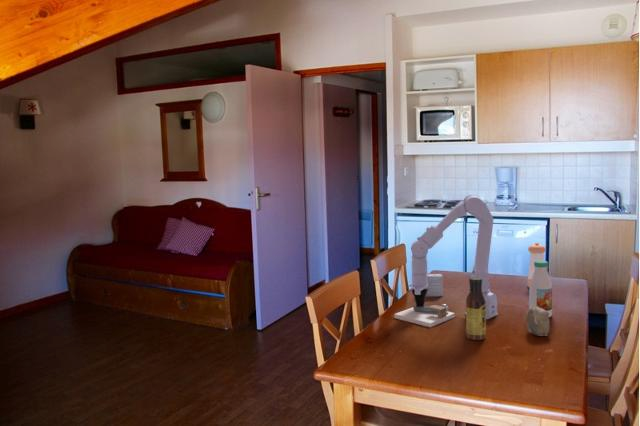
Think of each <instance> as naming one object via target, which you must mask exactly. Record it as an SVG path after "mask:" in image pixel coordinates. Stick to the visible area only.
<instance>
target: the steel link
mask: <svg viewBox="0 0 640 426" xmlns="http://www.w3.org/2000/svg"><path fill="white" fill-rule="evenodd" d="M429 306H430V305H424V306H422V305H416V304H414V305H413V307H414V311H424V312H438V311H435V310H431V309H428V307H429ZM440 306H442V307H446V314H448V312H449V306H448V305H447V304H445V303H442V304H440Z"/></svg>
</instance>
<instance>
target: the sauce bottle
mask: <svg viewBox="0 0 640 426" xmlns="http://www.w3.org/2000/svg"><path fill="white" fill-rule="evenodd" d="M468 279H469V282H468V283H469V289H470V293H468V294H467V296H466V301H465V303H466V305H465V313H466V315H465V331H466V338H468V339H469V340H472V341H481V340H484V339H486V334H487V319H486V301H485V299H484V296H483V293H482V278H479V277H471V278H469V277H468Z"/></svg>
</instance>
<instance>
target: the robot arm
mask: <svg viewBox="0 0 640 426" xmlns="http://www.w3.org/2000/svg"><path fill="white" fill-rule="evenodd" d="M468 214H469V215H471V216H473V217H474V218H476V220H477V221H478V222H479V223H478V230H477V238H476V239H477V240H476V248H475V256H474V265H473V267H472V271H471V273H470V275H469V277H468V279H469V278H471V277H479V278H482V293H483V296H484V299H485V301H486V320H489V319H491V318H493V317H496V316H498V315H499V313H498V298H497V294H495V293H493V292H491V289H490V286H491V281H490V279H489V275H490V274H489V261H490V255H491V254H490V253H491V245H492V244H491V243H492V236H493V227H494V226H493V225H494V217H493V214H492V213H491V212H490V209H489V208H488V206H487V203H486V202H485V201H483V200H482V199H481V198H479V197H478V196H477V195H474V194H468V195H466V196H465V197H464V199H463V200H460V201H459V202H458V203H457V204H455V206H453V208H452V209H451V210H450V211H449V212H448V213H447V214H446V215H445V216H444V217H443V219H442V220H440V222H438V224H437V225H431V226H430V227H429V226H427V227H426V229H425V230H426V231H424V233H423V234H422V235H421V236H418V237H417V238H416V239H417V240H415V241H414V242H412V243H411V246H410V250H411V283H409V284H408V286H409V287H411V288H412V290H411V292H412V293H411V294H412V295H413V297H414V300H415V305H422V306H425V299H426V297H425V296H426V294H427V291H428V289H426V288H427V287H428V275H427V274H428V260H427V255H428V252H429V250H430V249H432V248H433V247H435V245H436V244H437V243H439V241H440V240H442V238H443V237H444V232H445V231H446V230H447V229H448V228H449V227H450V226H451V225H452V224H453V223H455V222H456V221H457V220H458V219H459V218H462V217H467V216H468ZM468 291H469V293H470V288H469V290H468ZM469 293H468V294H469ZM464 315H465V316H466V312H464Z"/></svg>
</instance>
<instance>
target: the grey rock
mask: <svg viewBox="0 0 640 426" xmlns="http://www.w3.org/2000/svg"><path fill="white" fill-rule="evenodd" d="M548 315H549V313H548V312H547V311H546V310H544V309H542V308H539V307H537V306H532V308H531V309H530V310H529V309H528V310H527V313H526V316H525V320H526V325H527V326H526V327H527V330H528V332H529V333H531V334H532V335H534V336H537V337H539V336H540V337H543V336H545V337H547V336H549V335H548V333H549V332H550V317H549V316H548Z"/></svg>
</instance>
